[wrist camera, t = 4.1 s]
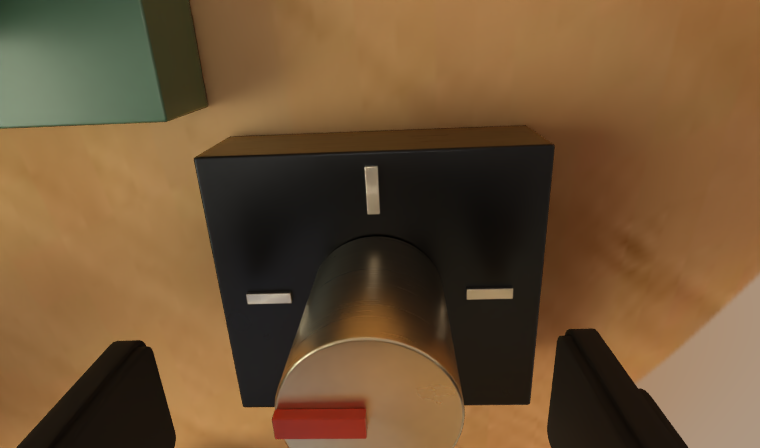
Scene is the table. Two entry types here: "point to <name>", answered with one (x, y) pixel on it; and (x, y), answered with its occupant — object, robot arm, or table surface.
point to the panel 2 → (383, 219)
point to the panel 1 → (97, 62)
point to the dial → (372, 355)
